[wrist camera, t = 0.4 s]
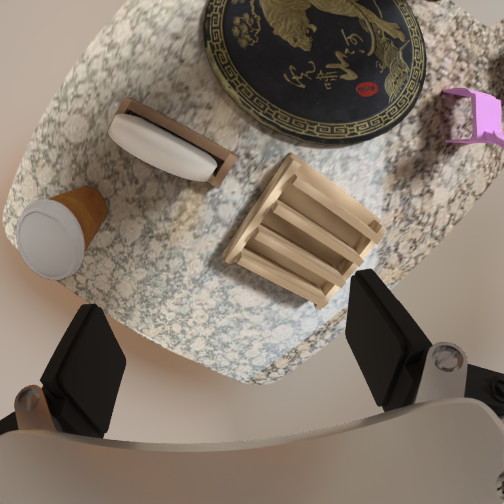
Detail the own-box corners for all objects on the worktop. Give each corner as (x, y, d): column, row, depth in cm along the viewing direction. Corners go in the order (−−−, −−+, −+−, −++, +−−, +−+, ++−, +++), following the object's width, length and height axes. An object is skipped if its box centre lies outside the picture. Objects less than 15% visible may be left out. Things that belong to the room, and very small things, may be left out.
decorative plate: (439, 138, 32) (230, 165, 33) (432, 137, 34) (230, 163, 35) (398, -42, 19) (184, -43, 19) (392, -38, 20) (186, -37, 21)
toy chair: (472, 92, 30) (541, 103, 16) (473, 144, 34) (541, 168, 20) (437, 85, 30) (512, 90, 16) (440, 141, 34) (512, 166, 20)
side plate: (136, 112, 30) (95, 115, 20) (219, 157, 34) (214, 178, 23) (130, 125, 31) (87, 134, 20) (211, 169, 34) (203, 196, 24)
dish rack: (290, 152, 34) (299, 158, 29) (377, 217, 39) (394, 231, 34) (223, 251, 40) (222, 271, 35) (312, 298, 44) (320, 319, 40)
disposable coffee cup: (130, 212, 36) (94, 253, 25) (89, 250, 38) (53, 297, 27) (87, 160, 32) (37, 184, 22) (50, 204, 34) (3, 238, 24)
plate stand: (131, 98, 29) (124, 97, 27) (236, 155, 34) (237, 158, 32) (115, 127, 31) (108, 129, 28) (218, 183, 35) (218, 188, 33)
